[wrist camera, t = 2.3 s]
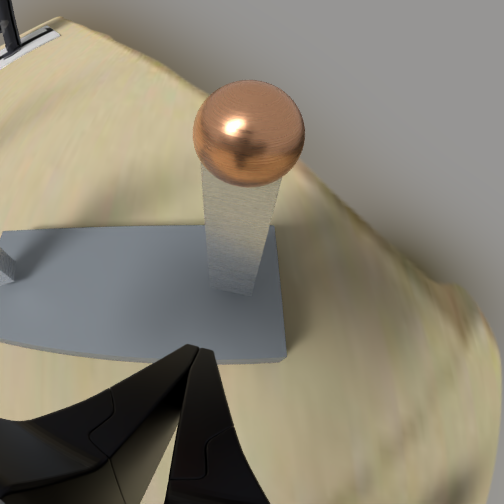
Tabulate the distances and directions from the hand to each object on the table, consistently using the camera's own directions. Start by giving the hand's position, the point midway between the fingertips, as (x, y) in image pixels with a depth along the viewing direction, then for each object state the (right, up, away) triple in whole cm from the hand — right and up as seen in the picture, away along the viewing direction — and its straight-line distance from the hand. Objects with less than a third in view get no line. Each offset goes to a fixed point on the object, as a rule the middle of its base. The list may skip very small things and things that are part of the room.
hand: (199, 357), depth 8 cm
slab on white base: (-70, +65, +40) cm, 103 cm away
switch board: (-8, 0, +11) cm, 14 cm away
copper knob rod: (0, +1, +10) cm, 10 cm away
